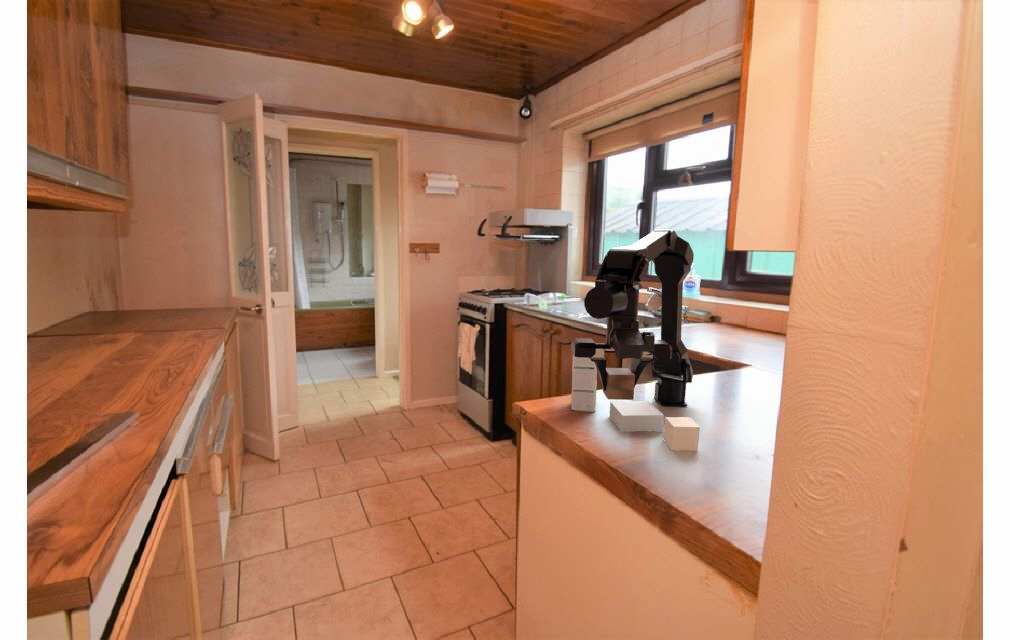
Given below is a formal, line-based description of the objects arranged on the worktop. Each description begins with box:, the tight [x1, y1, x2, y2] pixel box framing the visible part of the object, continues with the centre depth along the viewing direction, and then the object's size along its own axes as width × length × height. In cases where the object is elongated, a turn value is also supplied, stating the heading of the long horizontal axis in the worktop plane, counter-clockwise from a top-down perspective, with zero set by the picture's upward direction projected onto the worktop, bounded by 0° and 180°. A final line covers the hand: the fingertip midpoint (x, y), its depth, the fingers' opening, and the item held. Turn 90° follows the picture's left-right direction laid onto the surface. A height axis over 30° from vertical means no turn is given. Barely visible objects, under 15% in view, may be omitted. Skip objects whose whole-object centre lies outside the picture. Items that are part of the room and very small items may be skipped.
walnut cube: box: [602, 367, 635, 401], centre depth 93 cm, size 5×5×5 cm
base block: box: [609, 400, 665, 433], centre depth 103 cm, size 9×9×4 cm
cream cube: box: [663, 416, 701, 452], centre depth 92 cm, size 5×5×5 cm
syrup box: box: [570, 354, 598, 413], centre depth 112 cm, size 6×6×14 cm
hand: (617, 390), depth 93 cm, fingers closed on walnut cube, 5 cm apart
